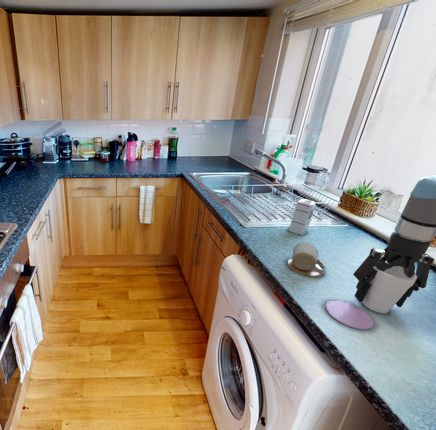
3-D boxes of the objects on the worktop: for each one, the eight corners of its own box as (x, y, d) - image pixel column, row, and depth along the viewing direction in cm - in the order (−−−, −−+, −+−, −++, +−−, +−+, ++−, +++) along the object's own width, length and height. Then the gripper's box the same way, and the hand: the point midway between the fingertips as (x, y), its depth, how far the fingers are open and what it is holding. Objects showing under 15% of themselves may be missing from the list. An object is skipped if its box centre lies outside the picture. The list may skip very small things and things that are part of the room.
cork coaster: (314, 260, 107) (315, 259, 107) (329, 278, 97) (329, 277, 97) (283, 257, 109) (283, 256, 108) (293, 274, 99) (294, 273, 99)
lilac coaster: (359, 304, 86) (359, 303, 86) (382, 333, 76) (383, 331, 76) (318, 299, 88) (319, 298, 87) (336, 326, 78) (337, 325, 78)
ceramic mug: (289, 267, 102) (295, 249, 98) (290, 257, 108) (296, 239, 104) (324, 278, 97) (332, 259, 93) (323, 266, 103) (331, 248, 100)
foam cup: (352, 304, 86) (370, 269, 80) (357, 290, 91) (374, 256, 86) (394, 322, 79) (416, 285, 74) (397, 306, 85) (417, 270, 80)
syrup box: (302, 235, 124) (312, 205, 118) (287, 230, 128) (297, 200, 122) (306, 231, 128) (317, 201, 122) (292, 227, 132) (301, 197, 126)
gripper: (448, 233, 77) (410, 298, 86) (357, 224, 80) (330, 288, 90) (474, 247, 70) (430, 316, 80) (373, 237, 74) (342, 304, 83)
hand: (377, 301), depth 85 cm, fingers closed on foam cup, 9 cm apart
